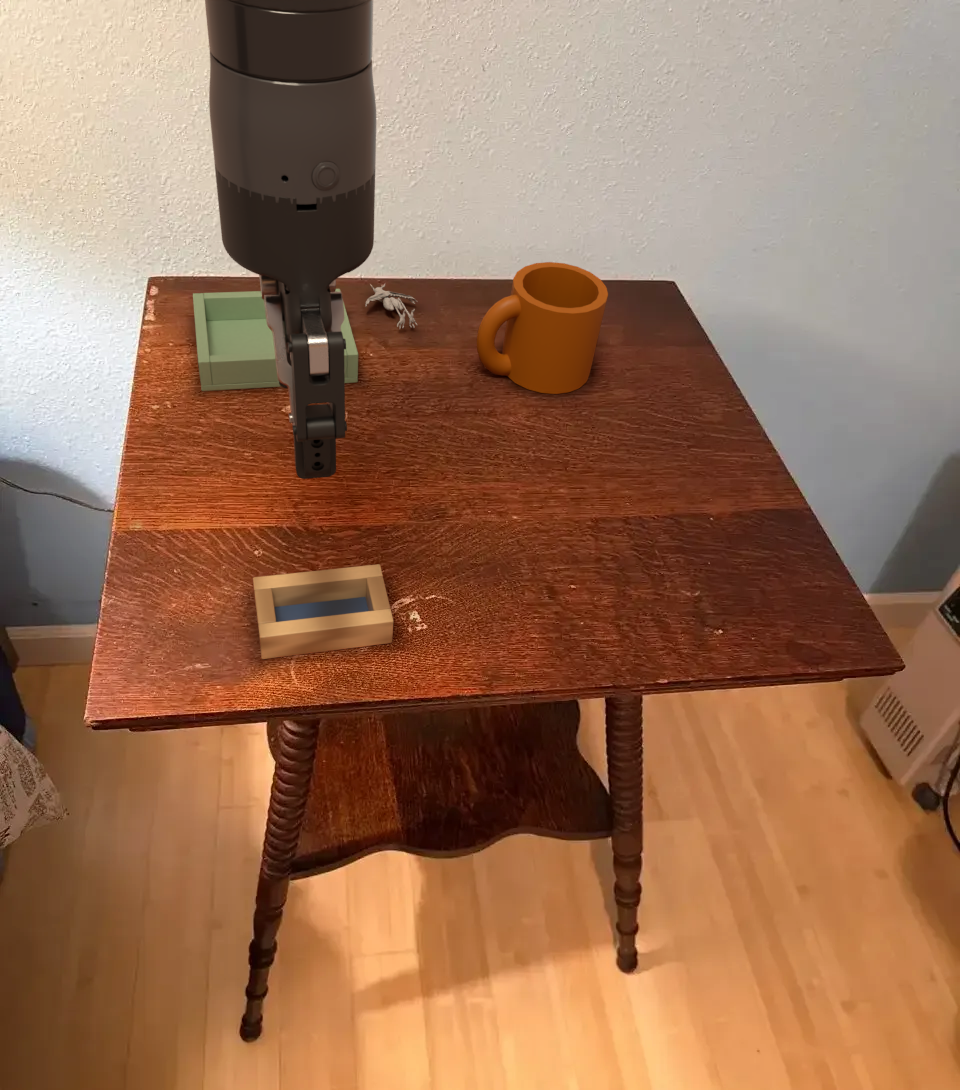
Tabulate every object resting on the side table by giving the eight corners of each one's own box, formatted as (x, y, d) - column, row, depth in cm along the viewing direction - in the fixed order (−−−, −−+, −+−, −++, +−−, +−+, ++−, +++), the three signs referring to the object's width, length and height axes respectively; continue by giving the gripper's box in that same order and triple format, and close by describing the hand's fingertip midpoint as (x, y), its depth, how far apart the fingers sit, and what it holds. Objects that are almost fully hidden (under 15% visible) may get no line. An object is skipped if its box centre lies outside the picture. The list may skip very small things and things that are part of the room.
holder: (201, 391, 84) (198, 362, 82) (195, 321, 92) (192, 293, 90) (357, 382, 88) (358, 354, 86) (339, 315, 96) (339, 288, 93)
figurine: (433, 327, 95) (401, 295, 100) (436, 307, 94) (403, 276, 99) (380, 331, 93) (349, 298, 98) (382, 311, 91) (351, 279, 96)
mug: (461, 343, 94) (470, 260, 88) (576, 342, 97) (593, 261, 91) (478, 397, 88) (489, 312, 82) (600, 394, 91) (620, 311, 84)
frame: (261, 659, 64) (259, 637, 63) (254, 600, 68) (252, 577, 66) (392, 643, 66) (393, 621, 65) (378, 586, 70) (379, 563, 68)
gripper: (204, 97, 49) (231, 362, 60) (225, 230, 39) (252, 515, 50) (350, 97, 50) (349, 355, 62) (404, 225, 41) (391, 501, 52)
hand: (305, 427), depth 56 cm, fingers open, 8 cm apart
